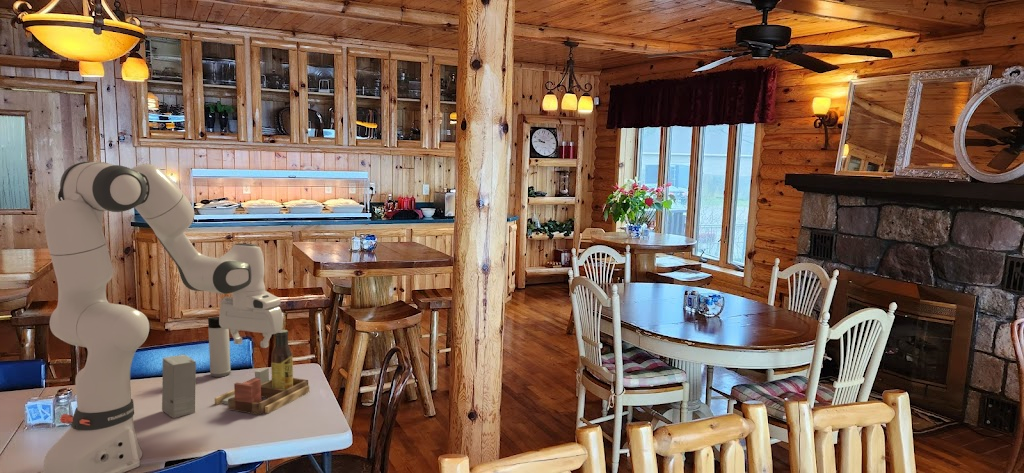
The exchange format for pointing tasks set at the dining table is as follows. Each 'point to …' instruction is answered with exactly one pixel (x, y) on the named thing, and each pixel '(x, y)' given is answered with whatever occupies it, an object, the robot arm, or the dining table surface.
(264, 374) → the broken grey strip
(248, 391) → the wooden condiment caddy
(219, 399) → the oak lane rails
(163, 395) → the skincare box
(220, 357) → the travel mug
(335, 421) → the dining table surface
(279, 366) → the sauce bottle
